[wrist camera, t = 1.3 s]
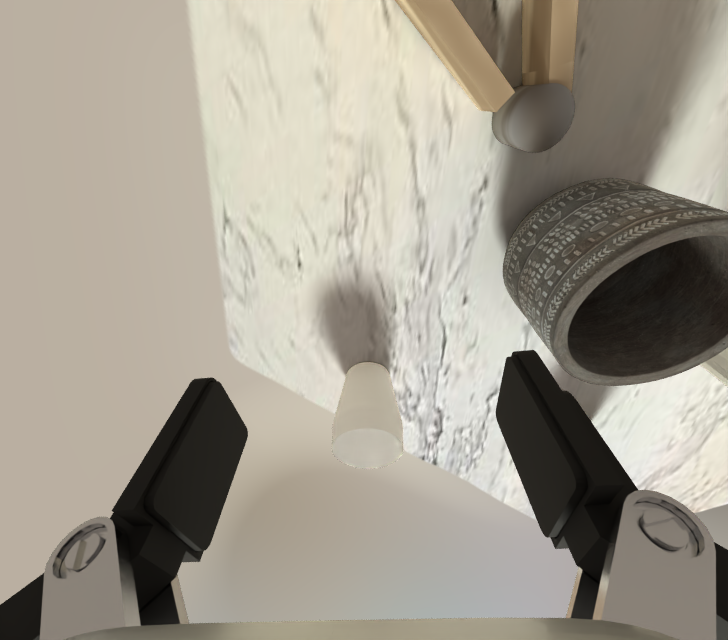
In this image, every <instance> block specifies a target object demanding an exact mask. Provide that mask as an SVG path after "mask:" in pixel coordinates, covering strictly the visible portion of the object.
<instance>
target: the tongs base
mask: <svg viewBox="0 0 728 640" xmlns="http://www.w3.org/2000/svg"><path fill="white" fill-rule="evenodd" d="M578 2H579V0H522V86H519V87H516V88H514V89H513V90H514V92H515V93H514V94H513V95H512V96H511V97H510V98H509V99H508V100H507V101H506V102H505V104H504V105H503V106H502V107H501V108H500V109H499V110H498V111H497V112H494V113H493V117H492V130H493V133H494V135H495V137H496V138H497V140H498V141H500V142H501V143H503V144H506V145H509V146H512V147H514V148H517V149H520V150H523V151H526V152H530V153H538V152H542V151H545V150H547V149H549V148H551V147H552V146H554V145H555V144H557V143H558V142H559V141H560V140H561V139H562V138H563V136H564V135H565V134H566V132H567V131H568V129H569V127H570V125H571V123H572V120H573V117H574V112H575V102H574V98H573V95H572V83H573V70H574V56H575V43H576V29H577V16H578Z"/></svg>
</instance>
